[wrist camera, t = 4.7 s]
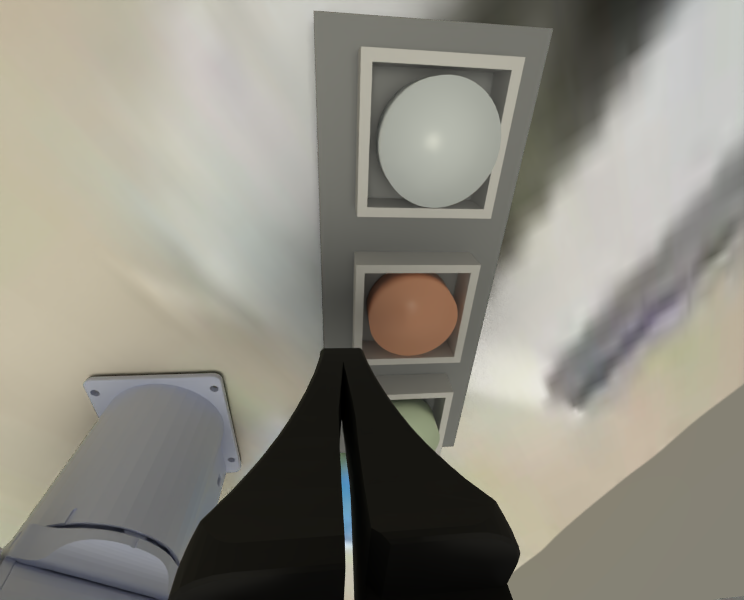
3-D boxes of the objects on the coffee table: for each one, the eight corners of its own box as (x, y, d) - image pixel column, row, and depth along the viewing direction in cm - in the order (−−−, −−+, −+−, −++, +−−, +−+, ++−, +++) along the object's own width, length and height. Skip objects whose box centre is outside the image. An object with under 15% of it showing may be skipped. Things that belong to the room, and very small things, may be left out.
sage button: (428, 442, 23) (434, 464, 22) (362, 446, 23) (363, 469, 22) (437, 394, 21) (444, 414, 20) (364, 397, 21) (366, 418, 19)
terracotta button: (442, 336, 20) (450, 354, 19) (364, 338, 20) (367, 356, 18) (454, 266, 18) (464, 280, 17) (368, 266, 18) (371, 280, 16)
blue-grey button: (473, 198, 15) (487, 208, 14) (373, 196, 15) (377, 206, 14) (495, 80, 13) (514, 78, 12) (378, 73, 13) (384, 71, 11)
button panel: (445, 423, 27) (460, 466, 24) (327, 429, 26) (326, 474, 23) (527, 36, 15) (578, 20, 12) (315, 20, 14) (311, 0, 11)
